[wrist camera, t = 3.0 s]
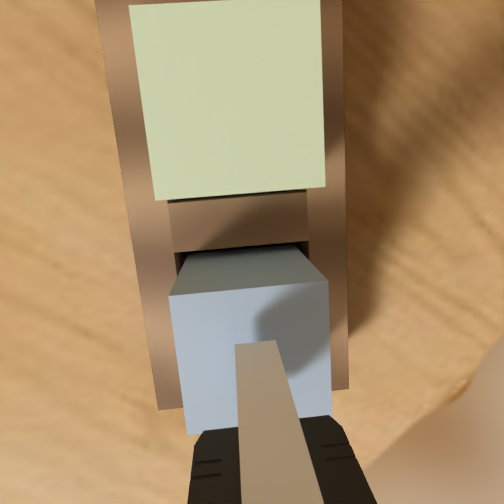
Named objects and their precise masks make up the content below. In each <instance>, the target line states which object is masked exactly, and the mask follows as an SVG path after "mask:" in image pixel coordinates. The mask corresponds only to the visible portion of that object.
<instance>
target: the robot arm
mask: <svg viewBox="0 0 504 504" xmlns="http://www.w3.org/2000/svg"><path fill="white" fill-rule="evenodd" d="M235 365H236V388H237V410H238V427H231V428H222V429H213V430H205V431H203V432H202V434H201V436H200V437H199V439H198V441H197V442H196V444H195V445H194V453H193V461H192V470H191V481H190V486H189V495H188V503H187V504H377V502H376V500H375V498H374V496H373V493H372V491H371V489H370V487H369V485H368V483H367V481H366V478H365V476H364V474H363V471H362V469H361V467H360V465H359V463H358V461H357V459H356V458H355V454H354V452H353V450H352V447H351V445H350V444H349V441H348V439H347V436H346V434H345V432H344V430H343V428H342V426H341V425H340V424H338V423H337V422H336V421H335V420H334V419H333V418H332V417H331V416H330V415H323V416H315V417H306V418H299V417H298V414H297V411H296V407H295V404H294V400H293V397H292V394H291V390H290V387H289V383H288V380H287V377H286V373H285V370H284V366H283V363H282V360H281V356H280V353H279V350H278V346H277V343H276V340H271V341H261V342H252V343H242V344H235Z"/></svg>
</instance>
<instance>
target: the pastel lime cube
mask: <svg viewBox="0 0 504 504" xmlns="http://www.w3.org/2000/svg"><path fill="white" fill-rule="evenodd" d="M128 6H129V13H130V20H131V28H132V35H133V42H134V50H135V57H136V64H137V71H138V79H139V86H140V93H141V101H142V108H143V115H144V123H145V130H146V137H147V144H148V152H149V159H150V166H151V174H152V181H153V188H154V196H155V201H158V200H170V199H183V198H195V197H207V196H220V195H232V194H244V193H256V192H269V191H281V190H293V189H305V188H318V187H326V185H325V151H324V117H323V82H322V48H321V14H320V0H221V1H202V2H183V3H164V4H144V5H128Z"/></svg>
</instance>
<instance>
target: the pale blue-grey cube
mask: <svg viewBox="0 0 504 504" xmlns="http://www.w3.org/2000/svg"><path fill="white" fill-rule="evenodd" d="M168 298H169V305H170V312H171V320H172V327H173V334H174V342H175V349H176V356H177V363H178V371H179V378H180V385H181V393H182V400H183V407H184V415H185V422H186V429H187V435H195V434H202V432H203V431H205V430H213V429H222V428H231V427H238V410H237V388H236V365H235V344H242V343H252V342H261V341H271V340H276V343H277V346H278V350H279V353H280V356H281V360H282V363H283V366H284V370H285V373H286V377H287V380H288V383H289V387H290V390H291V394H292V397H293V400H294V404H295V407H296V411H297V414H298V417H299V418H306V417H315V416H323V415H330V416H331V417H332V391H331V357H330V323H329V288H328V280H327V279H326V278H325V277H324V276H323V275H322V274H321V273H320V272H319V270H318V269H317V268H316V267H315V266H314V265H313V264H312V263H311V262H310V261H309V260H308V259H307V258H306V257H305V256H304V255H303V254H302V253H301V252H300V250H299V249H298V248H297V247H296V246H295V245H294V244H292V245H281V246H270V247H259V248H248V249H237V250H226V251H214V252H203V253H192V254H188V256H187V258H186V260H185V262H184V264H183V266H182V268H181V270H180V272H179V275H178V277H177V279H176V281H175V283H174V285H173V287H172V289H171V291H170V294H169V296H168Z"/></svg>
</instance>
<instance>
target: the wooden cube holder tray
mask: <svg viewBox="0 0 504 504" xmlns="http://www.w3.org/2000/svg"><path fill="white" fill-rule="evenodd" d="M202 1H221V0H95V7H96V13H97V19H98V26H99V32H100V39H101V45H102V52H103V58H104V64H105V71H106V77H107V84H108V90H109V97H110V103H111V109H112V116H113V122H114V129H115V135H116V142H117V148H118V154H119V161H120V167H121V174H122V180H123V187H124V193H125V199H126V206H127V212H128V219H129V225H130V231H131V238H132V244H133V251H134V257H135V264H136V270H137V276H138V283H139V289H140V296H141V302H142V309H143V315H144V321H145V328H146V334H147V341H148V347H149V354H150V360H151V366H152V373H153V379H154V386H155V392H156V399H157V405H158V410H166V409H174V408H183V400H182V393H181V385H180V378H179V371H178V363H177V356H176V349H175V342H174V334H173V327H172V320H171V312H170V305H169V298H168V296H169V294H170V291H171V289H172V287H173V285H174V283H175V281H176V279H177V277H178V275H179V272H180V270H181V268H182V266H183V264H184V262H185V260H186V257H185V252H187V251H198V250H209V249H220V248H231V247H242V246H254V245H265V244H276V243H287V242H295V246H296V247H297V248H298V249H299V250H300V252H301V253H302V254H303V255H304V256H305V257H306V258H307V259H308V260H309V261H310V262H311V263H312V264H313V265H314V266H315V267H316V268H317V269H318V270H319V272H320V273H321V274H322V275H323V276H324V277H325V278H326V279H327V280H328V288H329V323H330V357H331V391H334V390H343V389H349V369H348V309H347V249H346V189H345V129H344V69H343V9H342V0H320V14H321V48H322V82H323V117H324V151H325V185H326V187H318V188H305V189H293V190H281V191H269V192H256V193H244V194H232V195H220V196H207V197H195V198H183V199H170V200H158V201H155V196H154V188H153V181H152V174H151V166H150V159H149V152H148V144H147V137H146V130H145V123H144V115H143V108H142V101H141V93H140V86H139V79H138V71H137V64H136V57H135V50H134V42H133V35H132V28H131V20H130V13H129V6H128V5H144V4H164V3H183V2H202Z"/></svg>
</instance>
